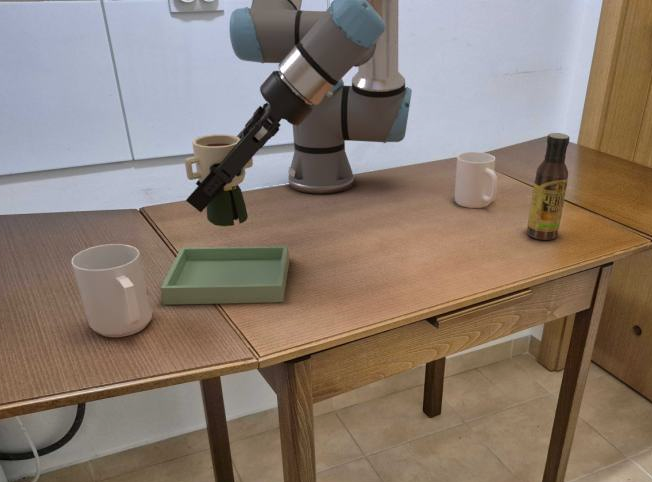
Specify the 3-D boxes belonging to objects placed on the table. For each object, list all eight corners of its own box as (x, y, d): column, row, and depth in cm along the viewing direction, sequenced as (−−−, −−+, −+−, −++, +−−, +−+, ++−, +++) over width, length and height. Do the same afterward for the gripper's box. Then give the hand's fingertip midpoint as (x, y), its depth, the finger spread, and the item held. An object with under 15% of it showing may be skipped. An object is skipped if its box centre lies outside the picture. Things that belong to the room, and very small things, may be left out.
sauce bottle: (537, 243, 126) (552, 141, 115) (520, 232, 131) (533, 132, 120) (564, 239, 128) (581, 137, 118) (546, 228, 133) (561, 129, 122)
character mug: (206, 237, 98) (192, 152, 91) (186, 223, 102) (171, 140, 95) (269, 220, 104) (261, 139, 97) (247, 207, 108) (238, 129, 101)
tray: (183, 262, 114) (181, 247, 113) (289, 261, 116) (288, 245, 115) (163, 304, 101) (160, 288, 100) (283, 302, 103) (281, 285, 101)
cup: (476, 193, 150) (480, 150, 144) (508, 210, 141) (514, 164, 136) (447, 199, 146) (449, 154, 141) (478, 216, 137) (482, 169, 132)
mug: (81, 322, 96) (62, 254, 90) (140, 304, 101) (125, 238, 95) (111, 356, 89) (92, 284, 83) (173, 335, 94) (159, 266, 88)
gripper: (313, 123, 87) (207, 237, 94) (317, 93, 103) (227, 192, 111) (269, 81, 83) (163, 203, 90) (281, 57, 100) (190, 161, 107)
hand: (198, 196), depth 100 cm, fingers closed on character mug, 7 cm apart
